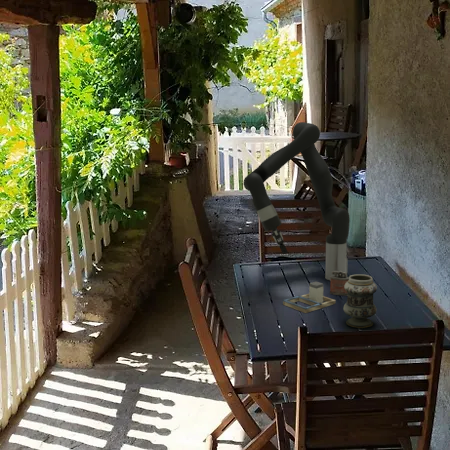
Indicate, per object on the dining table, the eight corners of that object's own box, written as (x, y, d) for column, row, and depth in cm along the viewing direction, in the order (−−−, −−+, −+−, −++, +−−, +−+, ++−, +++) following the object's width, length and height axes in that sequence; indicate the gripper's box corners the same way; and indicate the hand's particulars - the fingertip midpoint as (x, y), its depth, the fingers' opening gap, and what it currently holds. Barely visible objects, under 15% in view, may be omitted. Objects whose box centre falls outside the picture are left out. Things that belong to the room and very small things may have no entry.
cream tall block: (316, 299, 262) (316, 281, 260) (323, 302, 259) (323, 283, 257) (309, 301, 259) (309, 283, 258) (316, 304, 256) (316, 285, 255)
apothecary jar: (371, 316, 241) (372, 271, 238) (379, 328, 230) (381, 281, 226) (339, 317, 241) (341, 272, 237) (347, 329, 229) (348, 282, 225)
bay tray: (312, 295, 267) (312, 291, 266) (335, 303, 257) (335, 299, 256) (283, 304, 257) (283, 300, 256) (305, 313, 247) (305, 308, 246)
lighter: (349, 293, 269) (349, 271, 267) (348, 295, 266) (348, 273, 264) (330, 291, 272) (330, 269, 269) (329, 294, 268) (329, 271, 266)
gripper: (277, 214, 256) (294, 250, 256) (276, 214, 270) (292, 248, 270) (260, 221, 256) (277, 257, 256) (260, 221, 271) (276, 255, 270)
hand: (285, 252), depth 263 cm, fingers open, 8 cm apart
